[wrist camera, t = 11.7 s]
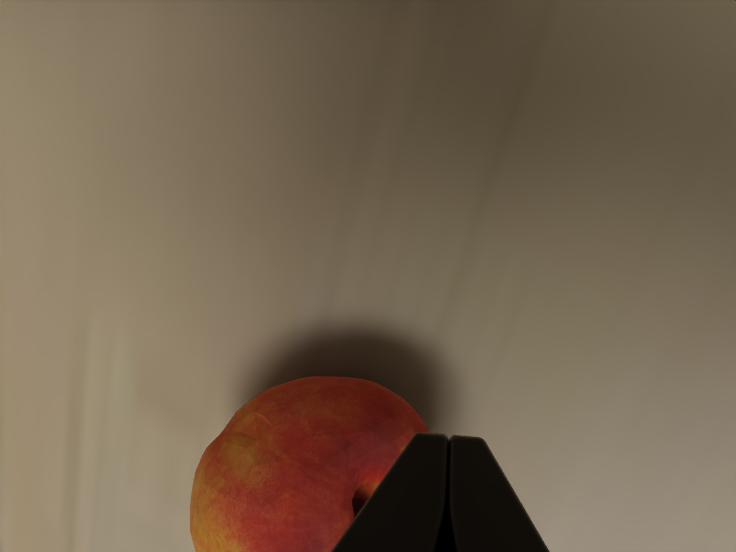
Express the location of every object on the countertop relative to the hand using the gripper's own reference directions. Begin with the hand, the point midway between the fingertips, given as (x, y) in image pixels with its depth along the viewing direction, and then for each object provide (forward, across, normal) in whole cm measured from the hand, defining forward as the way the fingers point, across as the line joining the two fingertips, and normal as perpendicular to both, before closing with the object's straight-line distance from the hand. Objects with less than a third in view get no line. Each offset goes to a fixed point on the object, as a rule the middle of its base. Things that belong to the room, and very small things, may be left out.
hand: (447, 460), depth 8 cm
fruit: (+12, +4, +10) cm, 16 cm away
